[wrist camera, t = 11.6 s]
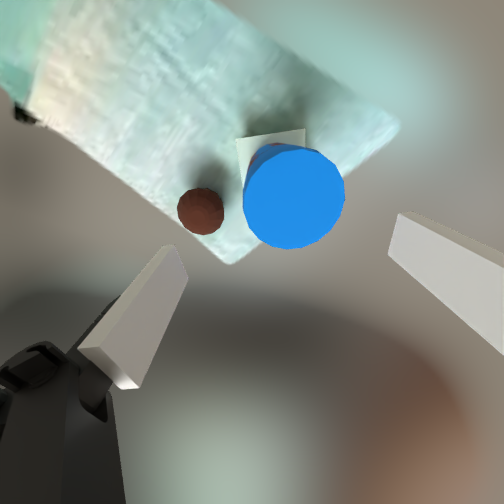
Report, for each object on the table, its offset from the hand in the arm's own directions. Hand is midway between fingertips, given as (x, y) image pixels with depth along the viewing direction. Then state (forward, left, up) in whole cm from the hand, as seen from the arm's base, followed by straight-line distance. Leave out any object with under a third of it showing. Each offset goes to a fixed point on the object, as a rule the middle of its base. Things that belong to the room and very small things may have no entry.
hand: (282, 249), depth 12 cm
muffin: (+8, -16, -41) cm, 44 cm away
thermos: (0, +2, -35) cm, 35 cm away
